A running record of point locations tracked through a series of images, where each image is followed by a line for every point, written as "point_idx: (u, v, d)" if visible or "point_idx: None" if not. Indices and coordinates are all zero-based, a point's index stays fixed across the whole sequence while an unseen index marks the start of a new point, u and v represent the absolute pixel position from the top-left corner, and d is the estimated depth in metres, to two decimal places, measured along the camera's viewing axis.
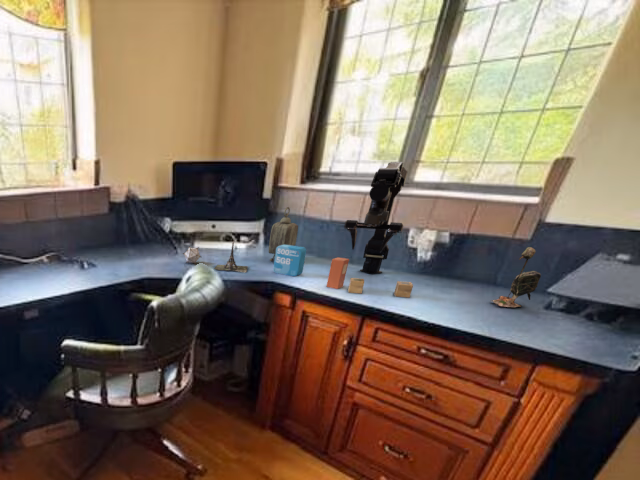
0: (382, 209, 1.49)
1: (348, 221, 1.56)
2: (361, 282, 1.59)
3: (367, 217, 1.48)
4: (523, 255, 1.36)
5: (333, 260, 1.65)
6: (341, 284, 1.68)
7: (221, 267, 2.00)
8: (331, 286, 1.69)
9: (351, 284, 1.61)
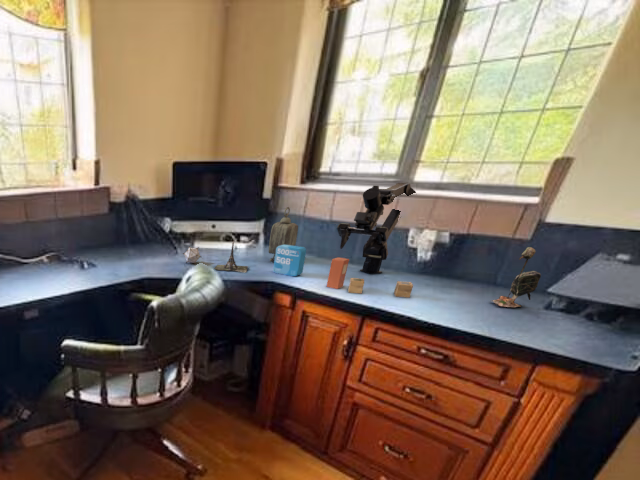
0: None
1: (342, 223, 1.72)
2: (361, 282, 1.59)
3: (357, 213, 1.63)
4: (523, 255, 1.36)
5: (333, 260, 1.65)
6: (341, 284, 1.68)
7: (221, 267, 2.00)
8: (331, 286, 1.69)
9: (351, 284, 1.61)
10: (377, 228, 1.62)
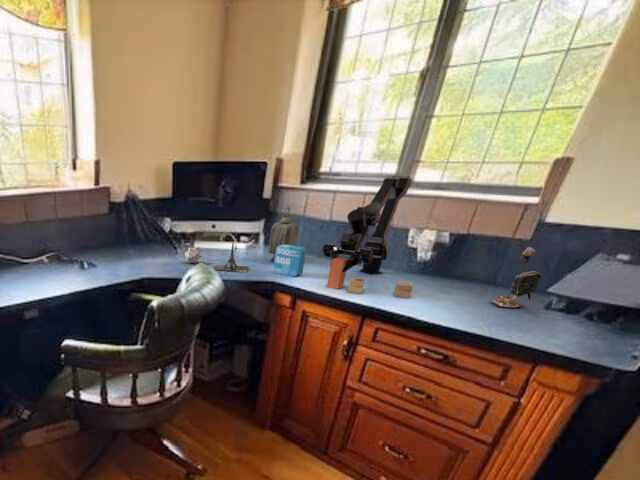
0: None
1: (327, 244, 1.70)
2: (361, 282, 1.59)
3: (341, 235, 1.61)
4: (523, 255, 1.36)
5: (333, 260, 1.65)
6: (341, 284, 1.68)
7: (221, 267, 2.00)
8: (331, 286, 1.69)
9: (351, 284, 1.61)
10: (361, 250, 1.60)
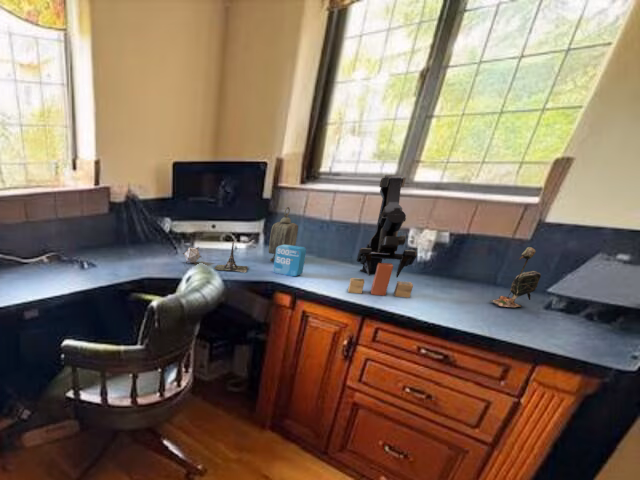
0: None
1: (363, 248, 1.59)
2: (361, 282, 1.59)
3: (387, 238, 1.52)
4: (523, 255, 1.36)
5: (380, 266, 1.54)
6: None
7: (221, 267, 2.00)
8: (377, 293, 1.59)
9: (351, 284, 1.61)
10: (406, 252, 1.53)
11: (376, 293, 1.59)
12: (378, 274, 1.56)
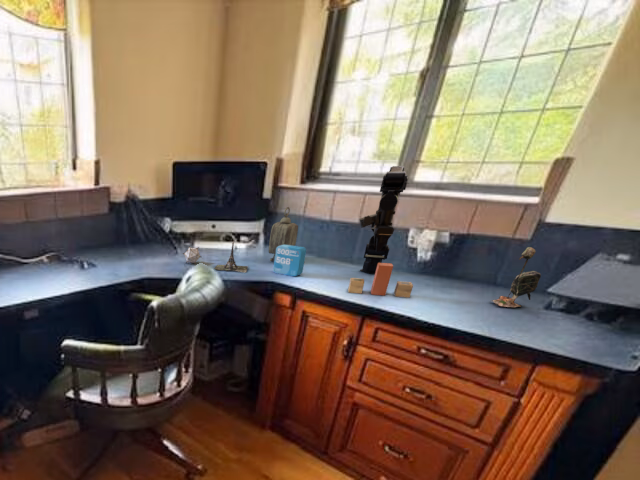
0: (377, 212, 1.62)
1: None
2: (361, 282, 1.59)
3: None
4: (523, 255, 1.36)
5: (380, 266, 1.54)
6: None
7: (221, 267, 2.00)
8: (377, 293, 1.59)
9: (351, 284, 1.61)
10: (374, 229, 1.61)
11: (376, 293, 1.59)
12: (378, 274, 1.56)
